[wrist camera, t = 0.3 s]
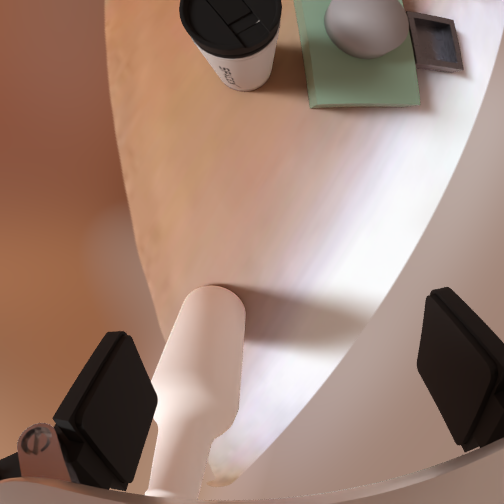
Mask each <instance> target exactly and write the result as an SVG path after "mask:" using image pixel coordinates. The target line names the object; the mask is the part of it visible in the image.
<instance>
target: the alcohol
mask: <svg viewBox="0 0 504 504" xmlns="http://www.w3.org/2000/svg"><path fill="white" fill-rule="evenodd" d="M245 320H246V312H245V308H244V305H243V303H242V301H241V300H240V298H239V297H238V296H237V295H236V294H234V293H233V292H231V291H230V290H228V289H226V288H223V287H219V286H212V285H210V286H203V287H199V288H197V289H195V290H193V291H192V292H191V293H189V294H188V295H187V297H186V298H185V300H184V302H183V305H182V307H181V309H180V312H179V314H178V316H177V319H176V321H175V324H174V326H173V328H172V331H171V333H170V336H169V338H168V341H167V343H166V345H165V348H164V350H163V353H162V355H161V358H160V360H159V363H158V365H157V368H156V370H155V373H154V375H153V378H152V381H151V383H152V385H153V387H154V389H155V392H156V394H157V397H158V404H157V407H156V410H155V413H154V416H153V418H154V420H155V421H156V423H157V425H158V429H159V431H158V436H157V442H156V447H155V453H154V458H153V464H152V470H151V476H150V482H149V488H148V490H147V491H146V492H145V495H146V496H155V497H164V498H175V499H190V500H198V496H199V491H200V488H201V484H202V480H203V476H204V472H205V468H206V464H207V460H208V456H209V452H210V448H211V444H212V442H213V440H214V439H215V438H217V437H219V436H220V435H222V434H223V433H224V432H226V431H227V430H228V429H229V428H230V427H231V425H232V424H233V421H234V419H235V417H236V415H237V412H238V410H239V399H240V386H241V372H242V359H243V346H244V333H245Z"/></svg>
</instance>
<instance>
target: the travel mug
mask: <svg viewBox="0 0 504 504" xmlns="http://www.w3.org/2000/svg"><path fill="white" fill-rule="evenodd" d="M281 11H282V4H281V0H180V7H179V12H180V18H181V21H182V24H183V26H184V28H185V29H186V31H187V32H188V34H189V35H190V36H191V38H192V40H193V41H194V43H195V44H196V46H197V47H198V49H199V50H200V51H201V53H202V54H203V55H204V57H205V58H206V59H207V61H208V62H209V63H210V65H211V66H212V68H213V69H214V70H215V72H216V73H217V74H218V76H219V77H220V79H221V80H222V81H223V82H224V84H225V85H227V86H228V87H229V88H231V89H234V90H237V91H244V92H245V91H252V90H255V89H257V88H259V87H261V86H262V85H263V84H264V83H265V82H266V81H267V80H268V78H269V77H270V74H271V71H272V65H273V60H274V54H275V49H276V44H277V39H278V33H279V28H280V18H281Z"/></svg>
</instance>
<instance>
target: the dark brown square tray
mask: <svg viewBox="0 0 504 504" xmlns="http://www.w3.org/2000/svg"><path fill="white" fill-rule="evenodd" d="M406 14H407V17H408V22H409V33H410V38H411V43H412V48H413V54H414V60H415V66H416V68H418V69H428V70H436V71H443V72H450V73H453V72H457V71H461V70H463V65H462V59H461V53H460V48H459V43H458V38H457V34H456V29H455V25H454V21H453V20H450V19H446V18H442V17H437V16H432V15H427V14H421V13H415V12H409V11H406Z"/></svg>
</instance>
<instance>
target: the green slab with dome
mask: <svg viewBox="0 0 504 504" xmlns="http://www.w3.org/2000/svg"><path fill="white" fill-rule="evenodd" d="M294 6H295V11H296V17H297V23H298V28H299V35H300V41H301V47H302V54H303V60H304V67H305V74H306V82H307V89H308V97H309V105H310V108H328V107H408V106H416V105H420V95H419V87H418V80H417V73H416V66H415V60H414V54H413V48H412V43H411V38H410V33H409V22H408V17H407V14H406V12H405V10H404V6H403V3H402V0H294Z"/></svg>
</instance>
